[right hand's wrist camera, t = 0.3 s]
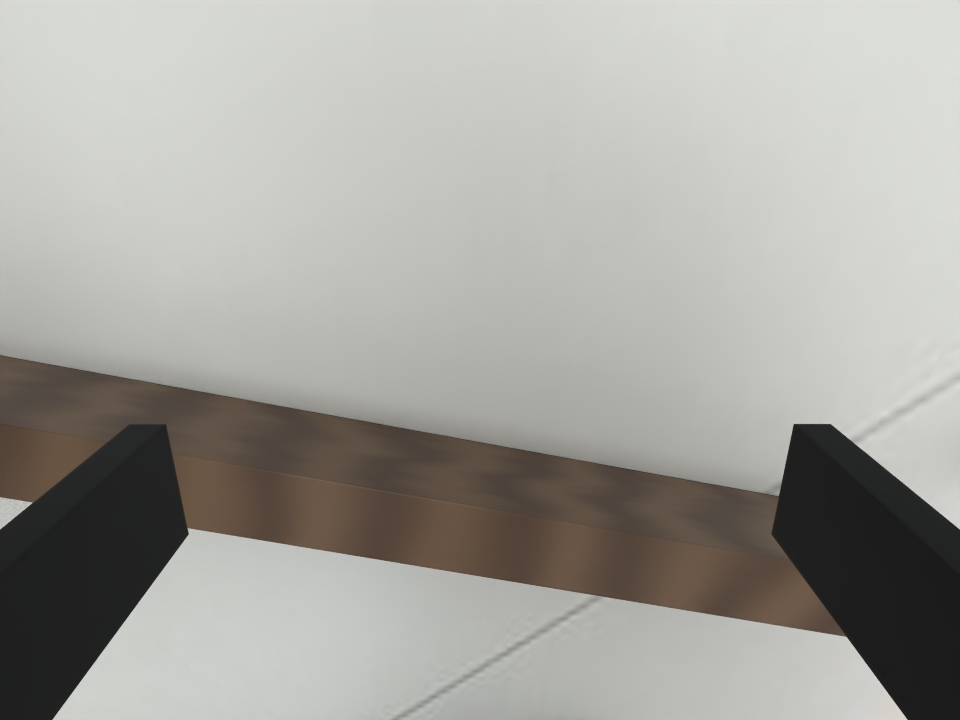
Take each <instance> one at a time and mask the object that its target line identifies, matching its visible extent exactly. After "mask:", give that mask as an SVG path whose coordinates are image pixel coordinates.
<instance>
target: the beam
mask: <svg viewBox="0 0 960 720" xmlns="http://www.w3.org/2000/svg"><path fill="white" fill-rule="evenodd" d="M129 424H166V426H167V431H168V436H169V441H170V446H171V450H172V455H173V460H174V465H175V470H176V475H177V480H178V485H179V489H180V494H181V499H182V504H183V509H184V514H185V519H186V524H187V528H191V529H197V530H203V531H209V532H215V533H221V534H227V535H233V536H239V537H245V538H252V539H258V540H264V541H270V542H276V543H282V544H288V545H294V546H300V547H306V548H312V549H318V550H324V551H330V552H336V553H342V554H348V555H355V556H361V557H367V558H373V559H379V560H385V561H391V562H397V563H403V564H409V565H415V566H421V567H427V568H433V569H439V570H445V571H452V572H458V573H464V574H470V575H476V576H482V577H488V578H494V579H500V580H506V581H512V582H518V583H524V584H530V585H536V586H542V587H549V588H555V589H561V590H567V591H573V592H579V593H585V594H591V595H597V596H603V597H609V598H615V599H621V600H627V601H633V602H639V603H646V604H652V605H658V606H664V607H670V608H676V609H682V610H688V611H694V612H700V613H706V614H712V615H718V616H724V617H730V618H736V619H743V620H749V621H755V622H761V623H767V624H773V625H779V626H785V627H791V628H797V629H803V630H809V631H815V632H821V633H827V634H833V635H840V636H846V635H845V634H844V632H843V631H842V630H841V628H840V627H839V626H838V624H837V623H836V621H835V620H834V619H833V617H832V616H831V615H830V613H829V612H828V611H827V609H826V608H825V607H824V605H823V604H822V602H821V601H820V600H819V598H818V597H817V596H816V594H815V593H814V592H813V590H812V589H811V587H810V586H809V585H808V583H807V582H806V581H805V579H804V578H803V577H802V575H801V574H800V573H799V571H798V570H797V568H796V567H795V566H794V564H793V563H792V562H791V560H790V559H789V558H788V556H787V555H786V553H785V552H784V551H783V549H782V548H781V547H780V545H779V544H778V543H777V541H776V540H775V539H774V537H773V536H772V534H771V533H772V528H773V524H774V519H775V514H776V509H777V504H778V499H779V497H778V496H772V495H767V494H761V493H756V492H750V491H745V490H739V489H734V488H728V487H723V486H717V485H711V484H706V483H700V482H695V481H689V480H684V479H678V478H673V477H667V476H662V475H656V474H651V473H645V472H640V471H634V470H629V469H623V468H618V467H612V466H607V465H601V464H595V463H590V462H584V461H579V460H573V459H568V458H562V457H557V456H551V455H546V454H540V453H535V452H529V451H524V450H518V449H513V448H507V447H502V446H496V445H490V444H485V443H479V442H474V441H468V440H463V439H457V438H452V437H446V436H441V435H435V434H430V433H424V432H419V431H413V430H408V429H402V428H397V427H391V426H386V425H380V424H374V423H369V422H363V421H358V420H352V419H347V418H341V417H336V416H330V415H325V414H319V413H314V412H308V411H303V410H297V409H292V408H286V407H281V406H275V405H269V404H264V403H258V402H253V401H247V400H242V399H236V398H231V397H225V396H220V395H214V394H209V393H203V392H198V391H192V390H187V389H181V388H176V387H170V386H165V385H159V384H153V383H148V382H142V381H137V380H131V379H126V378H120V377H115V376H109V375H104V374H98V373H93V372H87V371H82V370H76V369H71V368H65V367H60V366H54V365H49V364H43V363H37V362H32V361H26V360H21V359H15V358H10V357H4V356H0V497H3V498H9V499H15V500H21V501H27V502H33V503H34V502H35V501H36V500H37V499H38V498H40V497H41V496H42V495H43V494H45V493H46V492H47V491H48V490H49V489H51V488H52V487H53V486H54V485H56V484H57V483H58V482H59V481H60V480H62V479H63V478H64V477H65V476H67V475H68V474H69V473H70V472H71V471H73V470H74V469H75V468H76V467H78V466H79V465H80V464H81V463H82V462H84V461H85V460H86V459H87V458H89V457H90V456H91V455H92V454H94V453H95V452H96V451H97V450H98V449H100V448H101V447H102V446H103V445H105V444H106V443H107V442H108V441H109V440H111V439H112V438H113V437H114V436H116V435H117V434H118V433H119V432H120V431H122V430H123V429H124V428H125V427H127V426H128V425H129ZM846 637H847V636H846Z"/></svg>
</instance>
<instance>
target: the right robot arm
mask: <svg viewBox="0 0 960 720" xmlns="http://www.w3.org/2000/svg"><path fill="white" fill-rule="evenodd" d="M188 534H189V533H188V528H187V524H186V519H185V514H184V509H183V504H182V499H181V494H180V489H179V485H178V480H177V475H176V470H175V465H174V460H173V455H172V450H171V446H170V441H169V436H168V431H167V426H166V424H129V425H128V426H127V427H125V428H124V429H123V430H122V431H120V432H119V433H118V434H117V435H116V436H114V437H113V438H112V439H111V440H109V441H108V442H107V443H106V444H105V445H103V446H102V447H101V448H100V449H98V450H97V451H96V452H95V453H94V454H92V455H91V456H90V457H89V458H87V459H86V460H85V461H84V462H82V463H81V464H80V465H79V466H78V467H76V468H75V469H74V470H73V471H71V472H70V473H69V474H68V475H67V476H65V477H64V478H63V479H62V480H60V481H59V482H58V483H57V484H56V485H54V486H53V487H52V488H51V489H49V490H48V491H47V492H46V493H45V494H43V495H42V496H41V497H40V498H38V499H37V500H36V501H35V502H34V503H32V504H31V505H30V506H29V507H27V508H26V509H25V510H24V511H22V512H21V513H20V514H19V515H18V516H16V517H15V518H14V519H13V520H11V521H10V522H9V523H8V524H7V525H5V526H4V527H3V528H2V529H0V720H52V719H53V718H54V717H55V715H56V714H57V713H58V711H59V710H60V709H61V707H62V706H63V704H64V703H65V702H66V700H67V699H68V698H69V696H70V695H71V694H72V692H73V691H74V689H75V688H76V687H77V685H78V684H79V683H80V681H81V680H82V679H83V677H84V676H85V675H86V673H87V672H88V670H89V669H90V668H91V666H92V665H93V664H94V662H95V661H96V660H97V658H98V657H99V655H100V654H101V653H102V651H103V650H104V649H105V647H106V646H107V645H108V643H109V642H110V641H111V639H112V638H113V636H114V635H115V634H116V632H117V631H118V630H119V628H120V627H121V626H122V624H123V623H124V621H125V620H126V619H127V617H128V616H129V615H130V613H131V612H132V611H133V609H134V608H135V607H136V605H137V604H138V602H139V601H140V600H141V598H142V597H143V596H144V594H145V593H146V592H147V590H148V589H149V587H150V586H151V585H152V583H153V582H154V581H155V579H156V578H157V577H158V575H159V574H160V573H161V571H162V570H163V568H164V567H165V566H166V564H167V563H168V562H169V560H170V559H171V558H172V556H173V555H174V553H175V552H176V551H177V549H178V548H179V547H180V545H181V544H182V543H183V541H184V540H185V539H186V537H187V536H188ZM771 534H772V536H773V537H774V539H775V540H776V541H777V543H778V544H779V545H780V547H781V548H782V549H783V551H784V552H785V553H786V555H787V556H788V558H789V559H790V560H791V562H792V563H793V564H794V566H795V567H796V568H797V570H798V571H799V573H800V574H801V575H802V577H803V578H804V579H805V581H806V582H807V583H808V585H809V586H810V587H811V589H812V590H813V592H814V593H815V594H816V596H817V597H818V598H819V600H820V601H821V602H822V604H823V605H824V607H825V608H826V609H827V611H828V612H829V613H830V615H831V616H832V617H833V619H834V620H835V621H836V623H837V624H838V626H839V627H840V628H841V630H842V631H843V632H844V634H845V635H846V636H847V638H848V639H849V641H850V642H851V643H852V645H853V646H854V647H855V649H856V650H857V651H858V653H859V654H860V655H861V657H862V658H863V660H864V661H865V662H866V664H867V665H868V666H869V668H870V669H871V670H872V672H873V673H874V675H875V676H876V677H877V679H878V680H879V681H880V683H881V684H882V685H883V687H884V688H885V689H886V691H887V692H888V694H889V695H890V696H891V698H892V699H893V700H894V702H895V703H896V704H897V706H898V707H899V709H900V710H901V711H902V713H903V714H904V715H905V717H906V718H907V719H908V720H960V529H958V528H957V527H956V526H955V525H953V524H952V523H951V522H950V521H949V520H947V519H946V518H945V517H944V516H942V515H941V514H940V513H939V512H938V511H936V510H935V509H934V508H933V507H931V506H930V505H929V504H928V503H926V502H925V501H924V500H923V499H922V498H920V497H919V496H918V495H917V494H915V493H914V492H913V491H912V490H911V489H909V488H908V487H907V486H906V485H904V484H903V483H902V482H901V481H900V480H898V479H897V478H896V477H895V476H893V475H892V474H891V473H890V472H889V471H887V470H886V469H885V468H884V467H882V466H881V465H880V464H879V463H878V462H876V461H875V460H874V459H873V458H871V457H870V456H869V455H868V454H866V453H865V452H864V451H863V450H862V449H860V448H859V447H858V446H857V445H855V444H854V443H853V442H852V441H851V440H849V439H848V438H847V437H846V436H844V435H843V434H842V433H841V432H840V431H838V430H837V429H836V428H835V427H833V426H832V425H831V424H794V426H793V431H792V436H791V441H790V446H789V450H788V455H787V460H786V465H785V470H784V475H783V480H782V485H781V489H780V494H779V499H778V504H777V509H776V514H775V519H774V524H773V528H772V533H771Z"/></svg>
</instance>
